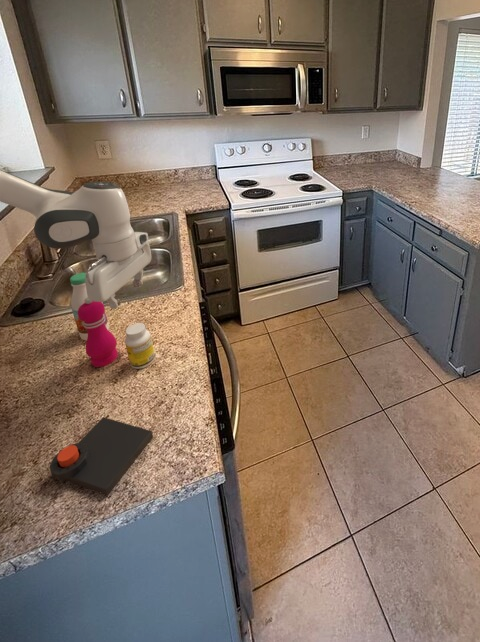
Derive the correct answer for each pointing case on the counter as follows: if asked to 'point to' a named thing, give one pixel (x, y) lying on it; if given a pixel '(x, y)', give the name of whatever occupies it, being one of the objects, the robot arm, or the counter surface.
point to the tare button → (68, 456)
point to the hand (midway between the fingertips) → (127, 295)
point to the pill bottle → (139, 346)
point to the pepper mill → (97, 334)
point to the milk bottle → (80, 302)
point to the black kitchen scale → (103, 456)
